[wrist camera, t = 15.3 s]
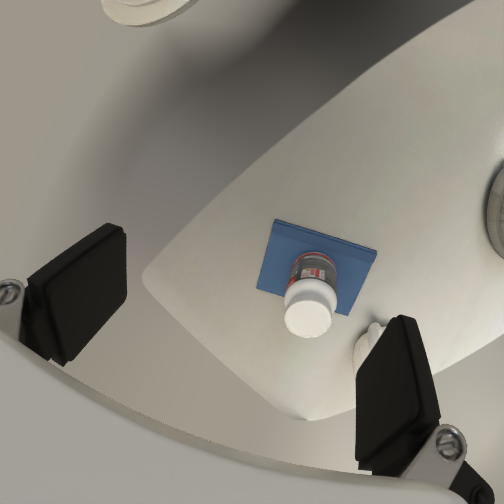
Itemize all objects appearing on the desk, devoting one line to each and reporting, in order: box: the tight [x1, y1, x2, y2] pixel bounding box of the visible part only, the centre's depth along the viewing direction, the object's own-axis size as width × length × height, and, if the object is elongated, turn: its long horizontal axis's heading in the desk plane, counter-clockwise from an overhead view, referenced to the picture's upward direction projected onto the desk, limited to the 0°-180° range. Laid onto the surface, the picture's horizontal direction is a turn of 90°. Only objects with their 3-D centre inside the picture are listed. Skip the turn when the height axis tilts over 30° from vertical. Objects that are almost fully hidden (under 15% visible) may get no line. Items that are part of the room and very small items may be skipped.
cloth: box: [256, 219, 377, 316], centre depth 37 cm, size 13×10×1 cm
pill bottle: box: [284, 252, 337, 338], centre depth 33 cm, size 6×6×10 cm
